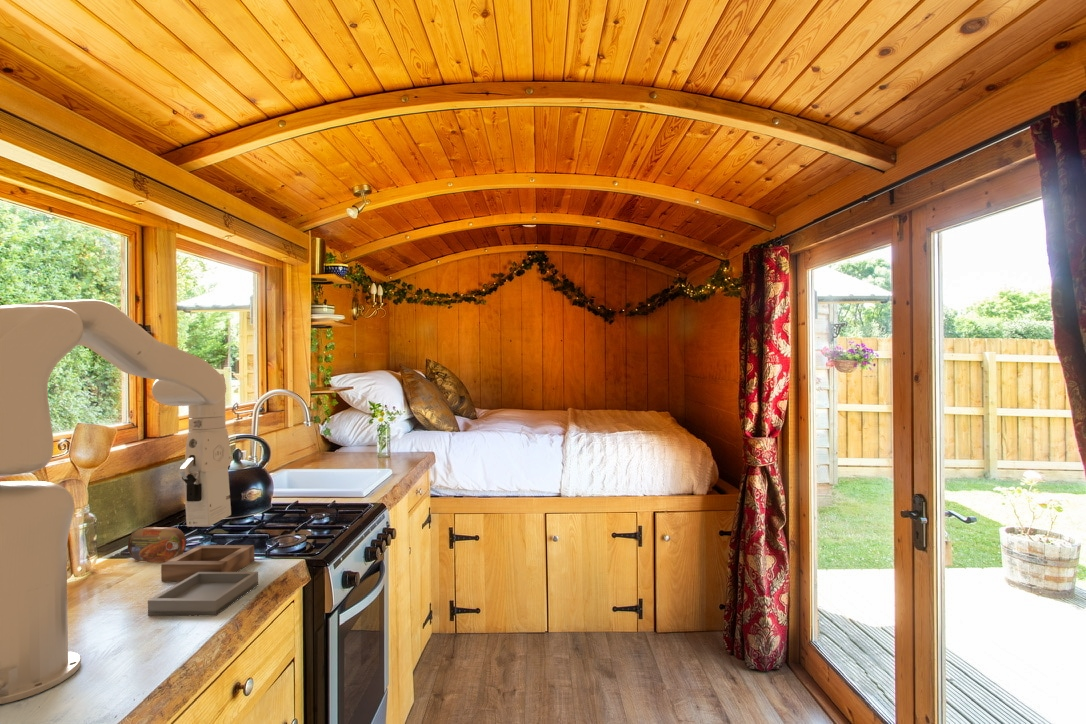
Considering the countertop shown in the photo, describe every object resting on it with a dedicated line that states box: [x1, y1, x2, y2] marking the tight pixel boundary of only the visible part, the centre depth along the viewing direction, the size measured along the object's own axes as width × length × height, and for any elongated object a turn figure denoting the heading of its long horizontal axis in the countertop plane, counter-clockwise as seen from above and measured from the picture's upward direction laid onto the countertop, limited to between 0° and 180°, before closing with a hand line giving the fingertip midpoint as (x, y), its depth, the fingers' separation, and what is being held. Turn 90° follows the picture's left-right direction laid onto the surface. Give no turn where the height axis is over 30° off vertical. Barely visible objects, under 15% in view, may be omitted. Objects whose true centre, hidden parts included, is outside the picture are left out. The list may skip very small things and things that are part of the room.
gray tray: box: [147, 571, 259, 617], centre depth 109 cm, size 14×14×3 cm
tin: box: [127, 526, 187, 563], centre depth 132 cm, size 15×3×8 cm, turn 82°
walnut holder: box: [160, 544, 255, 582], centre depth 124 cm, size 12×14×4 cm
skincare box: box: [183, 464, 232, 528], centre depth 124 cm, size 8×6×15 cm
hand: (207, 496), depth 124 cm, fingers closed on skincare box, 8 cm apart
